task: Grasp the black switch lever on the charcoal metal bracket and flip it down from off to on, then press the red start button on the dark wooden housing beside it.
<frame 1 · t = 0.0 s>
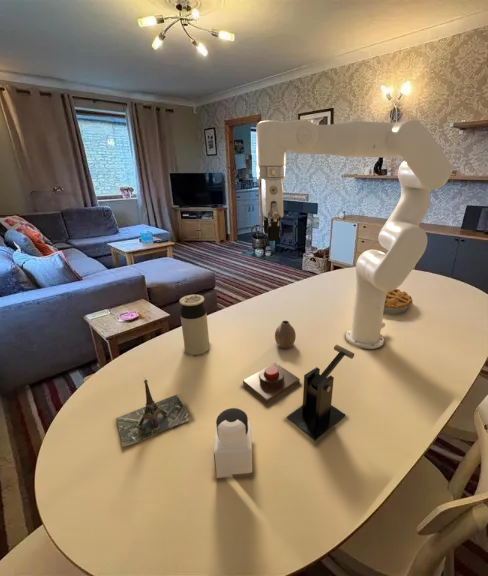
hand: (271, 236, 89), 37 cm above the table, tool pointing down, fingers open, 9 cm apart
travel mug: (197, 349, 102), on the table
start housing: (271, 385, 85), on the table
switch bracket: (315, 419, 74), on the table
start button: (271, 372, 83), point 4 cm above the table, slide at 0.1 cm
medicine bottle: (234, 461, 64), on the table
pie: (384, 304, 133), on the table
switch lever: (330, 367, 72), point 13 cm above the table, hinge at 25.0°
vase: (285, 345, 104), on the table
eiffel tower figurine: (154, 420, 74), on the table
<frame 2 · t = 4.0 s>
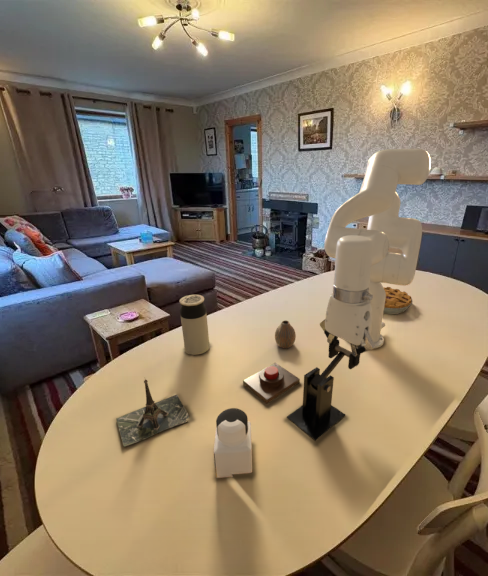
hand: (342, 360, 75), 13 cm above the table, tool pointing down, fingers closed on switch lever, 5 cm apart
switch lever: (330, 367, 72), point 13 cm above the table, hinge at 25.0°, touching gripper
everything else where it was.
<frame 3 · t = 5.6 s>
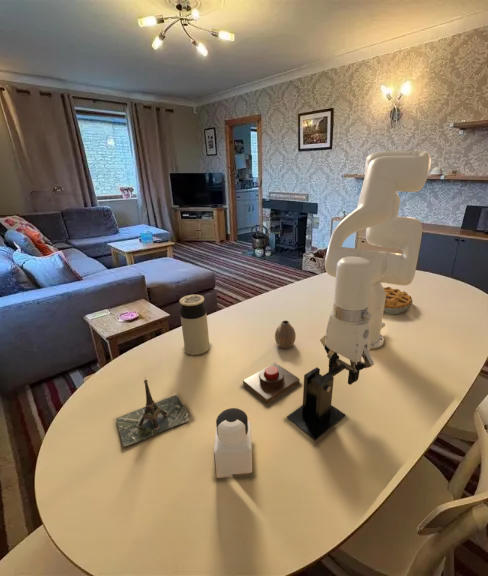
hand: (342, 375, 77), 8 cm above the table, tool pointing down, fingers closed on switch lever, 5 cm apart
switch lever: (331, 374, 73), point 11 cm above the table, hinge at -1.5°, touching gripper
everything else where it was.
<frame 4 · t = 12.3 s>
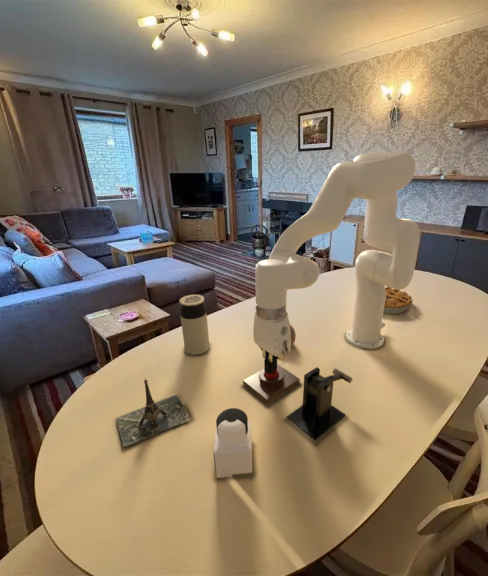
hand: (270, 370, 83), 5 cm above the table, tool pointing down, fingers closed
start button: (271, 373, 83), point 4 cm above the table, slide at 0.0 cm, touching gripper
switch lever: (330, 379, 73), point 10 cm above the table, hinge at -18.2°
everything else where it was.
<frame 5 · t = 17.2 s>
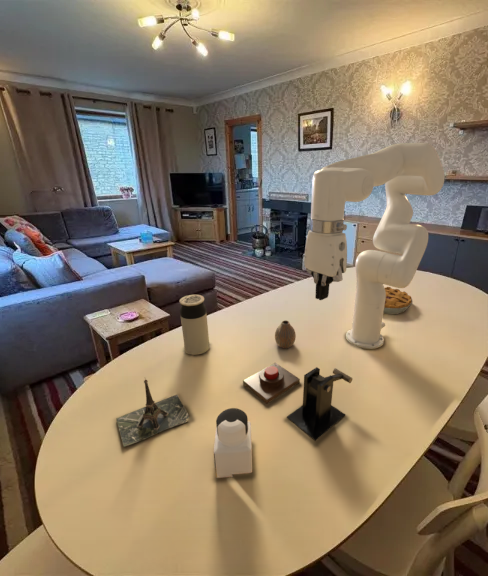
hand: (321, 297, 79), 25 cm above the table, tool pointing down, fingers closed
start button: (271, 372, 83), point 4 cm above the table, slide at 0.1 cm
everything else where it was.
at the end: switch lever at -18° (first picture: +25°); start button pushed in 1.1 cm at the most during the clip, back to where it started at the end; start button slide at 0.1 cm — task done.
